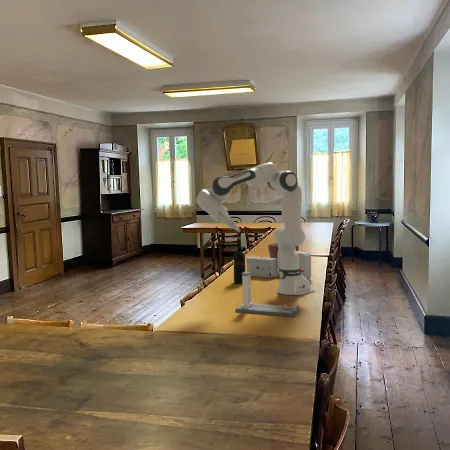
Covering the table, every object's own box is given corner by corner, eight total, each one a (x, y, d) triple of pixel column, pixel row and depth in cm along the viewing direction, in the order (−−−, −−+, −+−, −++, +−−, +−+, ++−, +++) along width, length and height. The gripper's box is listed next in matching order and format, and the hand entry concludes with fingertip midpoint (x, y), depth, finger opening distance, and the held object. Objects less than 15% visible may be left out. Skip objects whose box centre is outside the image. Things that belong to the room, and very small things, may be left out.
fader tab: (240, 307, 231) (240, 273, 229) (245, 303, 237) (245, 271, 236) (248, 307, 229) (247, 274, 228) (252, 304, 236) (252, 271, 234)
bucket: (300, 271, 334) (300, 237, 332) (270, 272, 334) (269, 238, 332) (295, 265, 358) (295, 234, 356) (267, 266, 359) (267, 234, 357)
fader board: (235, 311, 229) (235, 306, 229) (243, 305, 240) (243, 300, 240) (294, 316, 218) (293, 311, 218) (299, 310, 229) (299, 305, 229)
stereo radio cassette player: (277, 276, 317) (277, 248, 315) (271, 278, 310) (271, 249, 308) (251, 274, 328) (250, 246, 326) (245, 276, 321) (244, 248, 319)
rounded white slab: (313, 279, 305) (313, 252, 303) (305, 281, 301) (305, 254, 299) (285, 273, 329) (285, 248, 327) (277, 274, 324) (277, 249, 323)
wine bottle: (248, 281, 303) (247, 236, 300) (243, 284, 293) (243, 238, 291) (237, 280, 305) (236, 236, 303) (232, 283, 296) (231, 238, 293)
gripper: (221, 206, 232) (241, 224, 230) (226, 211, 253) (244, 228, 250) (213, 215, 232) (233, 233, 230) (218, 220, 253) (236, 236, 250)
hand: (239, 230), depth 241 cm, fingers open, 8 cm apart
